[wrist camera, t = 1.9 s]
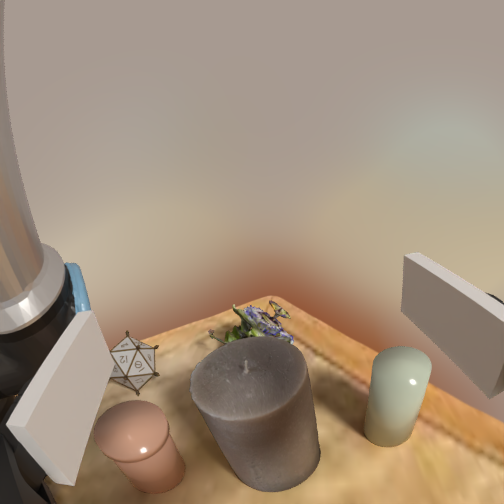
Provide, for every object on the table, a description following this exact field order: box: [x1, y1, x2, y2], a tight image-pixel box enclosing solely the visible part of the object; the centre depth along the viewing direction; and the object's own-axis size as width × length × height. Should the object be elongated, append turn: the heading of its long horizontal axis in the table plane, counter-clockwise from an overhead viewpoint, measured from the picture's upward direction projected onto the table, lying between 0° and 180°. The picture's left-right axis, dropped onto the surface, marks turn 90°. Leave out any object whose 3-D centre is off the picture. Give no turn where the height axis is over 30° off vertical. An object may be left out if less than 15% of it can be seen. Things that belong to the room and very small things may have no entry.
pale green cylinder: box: [364, 346, 432, 447], centre depth 28 cm, size 6×6×10 cm
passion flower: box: [208, 301, 294, 344], centre depth 46 cm, size 11×11×12 cm
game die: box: [109, 331, 160, 396], centre depth 42 cm, size 9×8×10 cm
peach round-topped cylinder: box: [94, 400, 185, 494], centre depth 27 cm, size 8×8×8 cm
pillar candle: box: [189, 336, 321, 492], centre depth 26 cm, size 10×10×15 cm
